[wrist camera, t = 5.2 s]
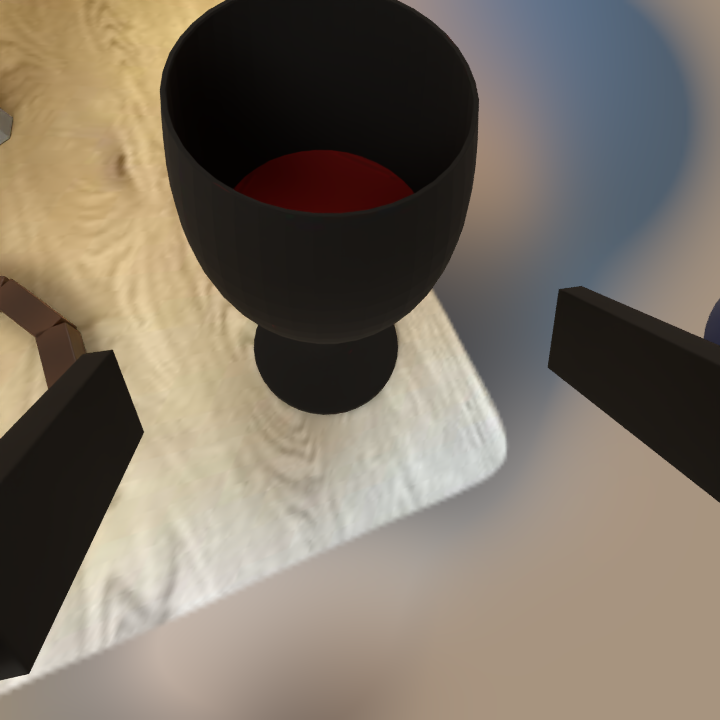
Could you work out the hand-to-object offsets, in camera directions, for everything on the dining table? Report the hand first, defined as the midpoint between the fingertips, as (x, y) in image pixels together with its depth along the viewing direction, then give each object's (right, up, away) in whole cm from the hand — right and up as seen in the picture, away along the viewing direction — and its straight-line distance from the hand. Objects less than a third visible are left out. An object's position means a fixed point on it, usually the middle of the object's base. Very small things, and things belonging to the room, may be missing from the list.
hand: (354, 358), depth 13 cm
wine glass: (-2, +1, +18) cm, 18 cm away
